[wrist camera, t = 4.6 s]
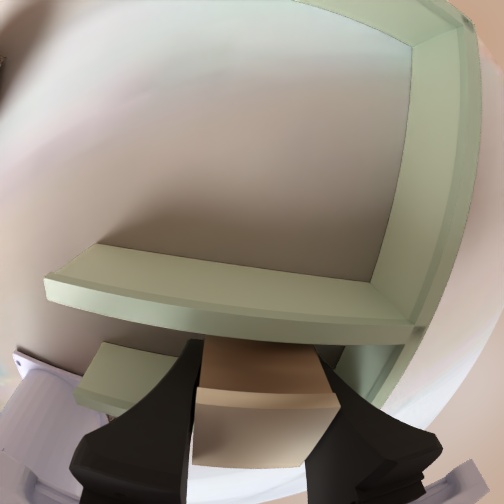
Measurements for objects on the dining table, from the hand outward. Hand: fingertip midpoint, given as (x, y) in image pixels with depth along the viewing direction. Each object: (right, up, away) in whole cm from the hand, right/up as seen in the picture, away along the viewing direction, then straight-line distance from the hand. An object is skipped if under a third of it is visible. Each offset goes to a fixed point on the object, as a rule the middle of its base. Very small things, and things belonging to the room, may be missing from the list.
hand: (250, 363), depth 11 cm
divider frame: (0, +8, 0) cm, 8 cm away
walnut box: (0, +1, +2) cm, 2 cm away
